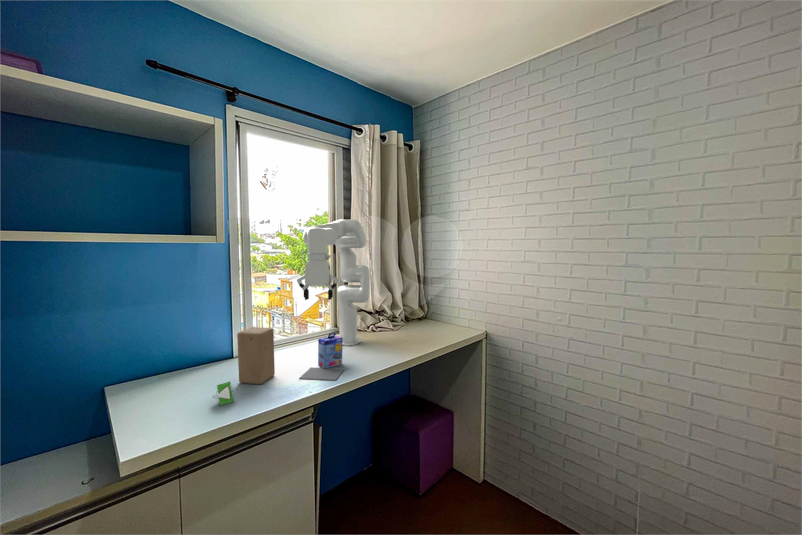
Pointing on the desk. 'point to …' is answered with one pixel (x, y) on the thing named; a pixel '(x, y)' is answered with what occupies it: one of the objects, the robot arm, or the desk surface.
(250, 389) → the desk surface
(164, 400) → the desk surface
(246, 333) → the wooden block
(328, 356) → the ink cartridge box
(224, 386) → the geometric puzzle
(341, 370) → the mat
